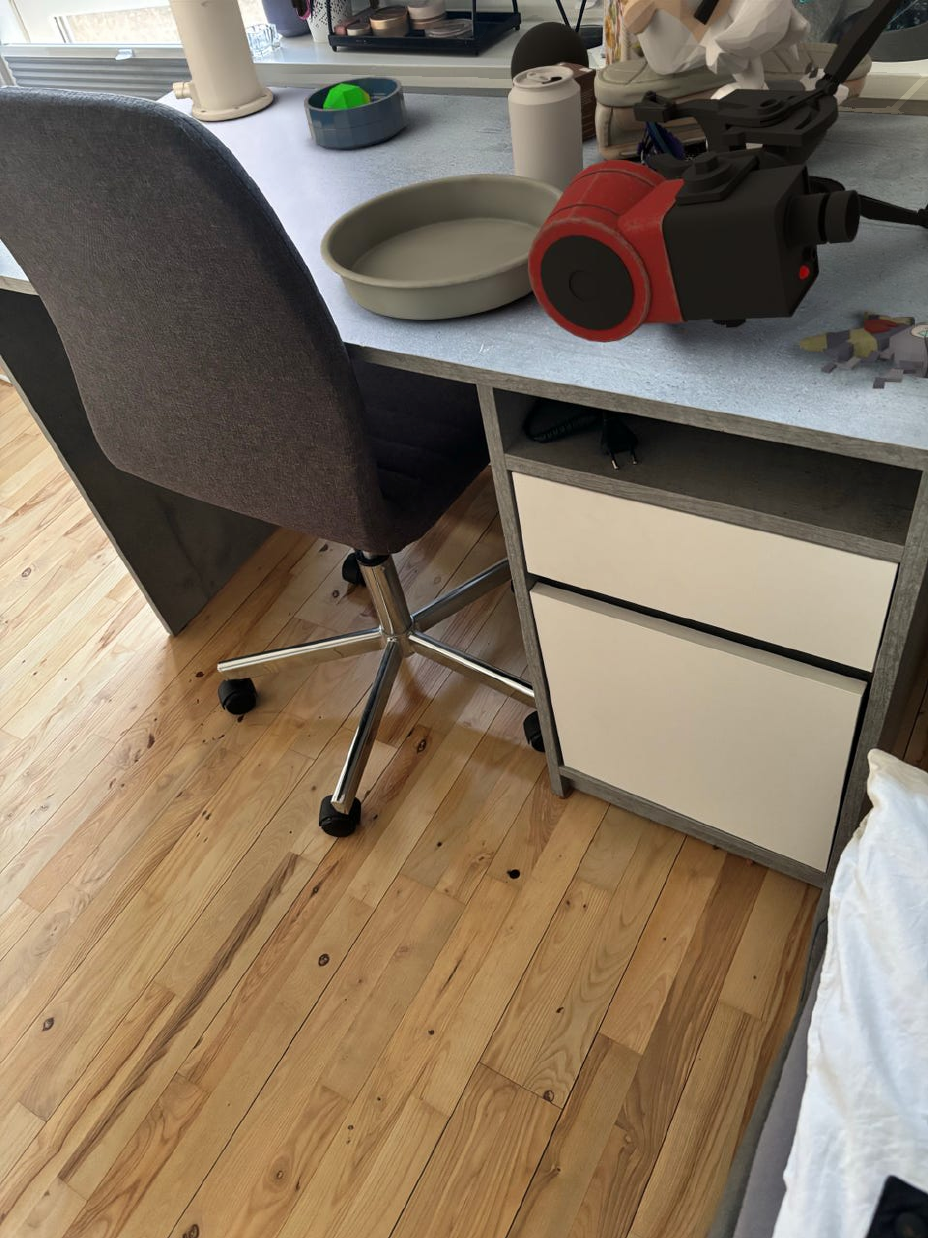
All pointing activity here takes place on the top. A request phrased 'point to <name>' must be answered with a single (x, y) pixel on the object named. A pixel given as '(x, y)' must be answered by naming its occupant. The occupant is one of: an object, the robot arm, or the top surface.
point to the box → (585, 96)
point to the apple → (346, 97)
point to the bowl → (358, 114)
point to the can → (546, 125)
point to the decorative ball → (548, 48)
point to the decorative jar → (619, 35)
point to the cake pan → (441, 245)
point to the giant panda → (787, 88)
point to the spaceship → (659, 144)
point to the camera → (708, 213)
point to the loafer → (690, 93)
